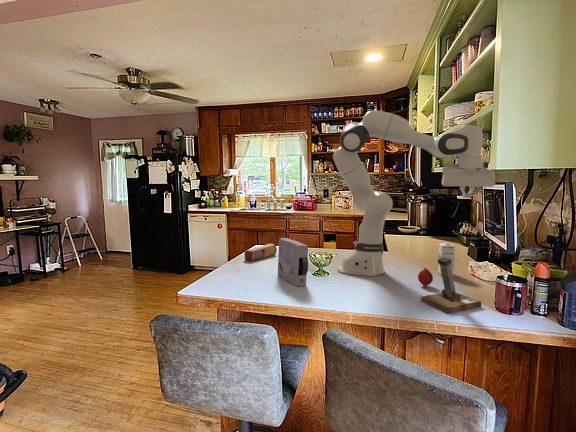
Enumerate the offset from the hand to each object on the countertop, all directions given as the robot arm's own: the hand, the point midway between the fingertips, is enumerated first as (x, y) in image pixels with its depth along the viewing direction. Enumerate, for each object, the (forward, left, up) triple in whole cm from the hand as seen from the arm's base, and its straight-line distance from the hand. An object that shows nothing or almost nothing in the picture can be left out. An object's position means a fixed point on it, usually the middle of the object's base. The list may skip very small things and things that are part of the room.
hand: (466, 197), depth 143 cm
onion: (-17, -8, -37) cm, 42 cm away
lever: (-13, -28, -34) cm, 46 cm away
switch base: (-13, -28, -37) cm, 48 cm away
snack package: (-96, +30, -38) cm, 108 cm away
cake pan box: (-73, -10, -37) cm, 83 cm away
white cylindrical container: (-3, +12, -37) cm, 39 cm away
